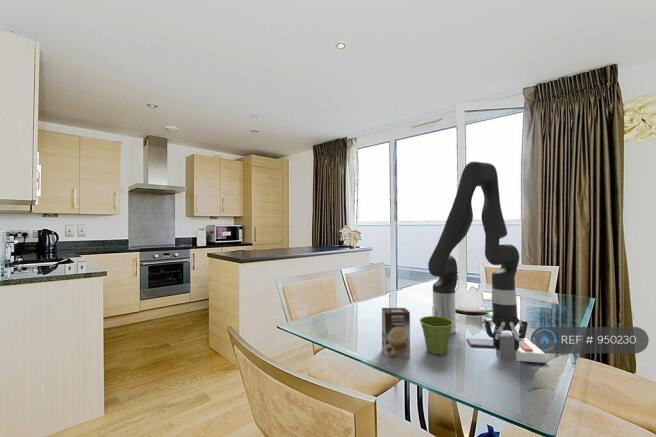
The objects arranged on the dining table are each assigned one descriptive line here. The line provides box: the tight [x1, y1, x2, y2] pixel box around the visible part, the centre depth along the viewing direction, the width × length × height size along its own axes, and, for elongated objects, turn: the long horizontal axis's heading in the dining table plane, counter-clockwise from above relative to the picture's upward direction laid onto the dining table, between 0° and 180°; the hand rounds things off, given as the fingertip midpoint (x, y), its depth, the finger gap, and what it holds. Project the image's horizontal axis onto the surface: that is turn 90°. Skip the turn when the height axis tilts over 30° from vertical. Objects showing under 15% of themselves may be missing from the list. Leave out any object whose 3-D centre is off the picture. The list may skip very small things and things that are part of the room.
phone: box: [466, 337, 496, 349], centre depth 117 cm, size 12×6×1 cm, turn 80°
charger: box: [495, 332, 516, 362], centre depth 105 cm, size 4×4×8 cm
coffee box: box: [381, 307, 411, 358], centre depth 110 cm, size 9×6×16 cm
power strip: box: [509, 332, 546, 364], centre depth 111 cm, size 9×18×4 cm, turn 169°
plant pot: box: [418, 315, 453, 356], centre depth 112 cm, size 12×12×11 cm
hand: (506, 349), depth 105 cm, fingers open, 5 cm apart
